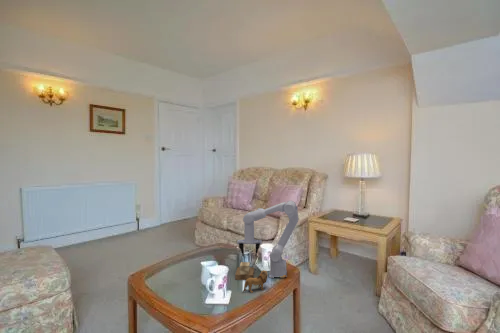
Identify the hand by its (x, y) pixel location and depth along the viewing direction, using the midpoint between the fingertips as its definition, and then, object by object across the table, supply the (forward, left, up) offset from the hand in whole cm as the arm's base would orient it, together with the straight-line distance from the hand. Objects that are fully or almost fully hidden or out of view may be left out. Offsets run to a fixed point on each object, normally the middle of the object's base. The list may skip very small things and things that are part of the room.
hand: (249, 256), depth 155 cm
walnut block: (+2, +5, -10) cm, 12 cm away
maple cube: (+2, +7, -7) cm, 10 cm away
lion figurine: (-5, +20, -10) cm, 23 cm away
